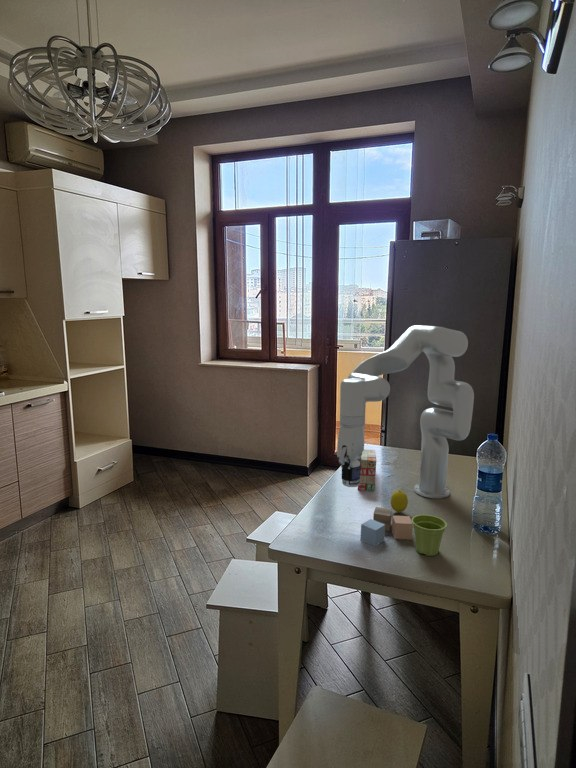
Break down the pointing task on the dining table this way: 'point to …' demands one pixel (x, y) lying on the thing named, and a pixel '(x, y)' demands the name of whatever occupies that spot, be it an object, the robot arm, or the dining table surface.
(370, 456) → the stack of blocks
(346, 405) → the robot arm
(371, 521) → the slate blue cube
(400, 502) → the lemon
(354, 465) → the pill bottle
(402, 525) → the terracotta cube
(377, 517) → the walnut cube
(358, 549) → the dining table surface
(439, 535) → the plant pot
